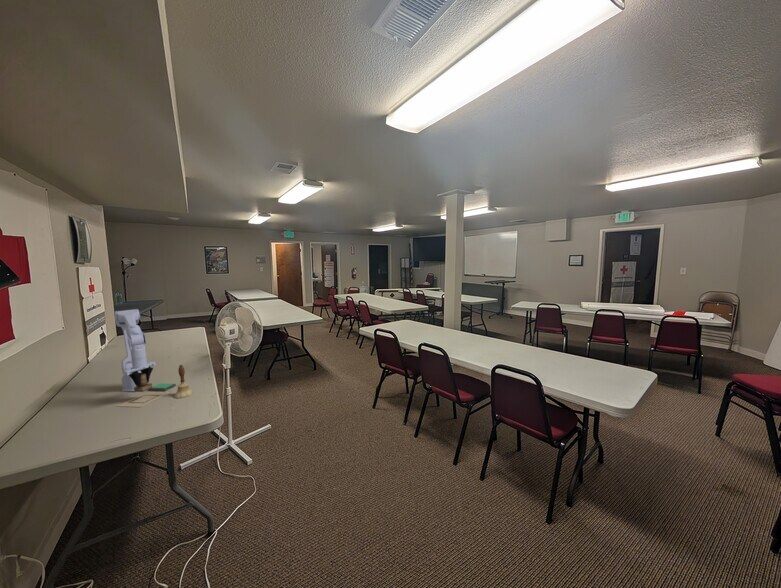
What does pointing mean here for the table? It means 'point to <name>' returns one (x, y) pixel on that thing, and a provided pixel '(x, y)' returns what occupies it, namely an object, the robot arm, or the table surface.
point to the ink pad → (162, 387)
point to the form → (143, 399)
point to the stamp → (143, 384)
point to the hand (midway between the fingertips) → (142, 384)
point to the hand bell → (183, 385)
